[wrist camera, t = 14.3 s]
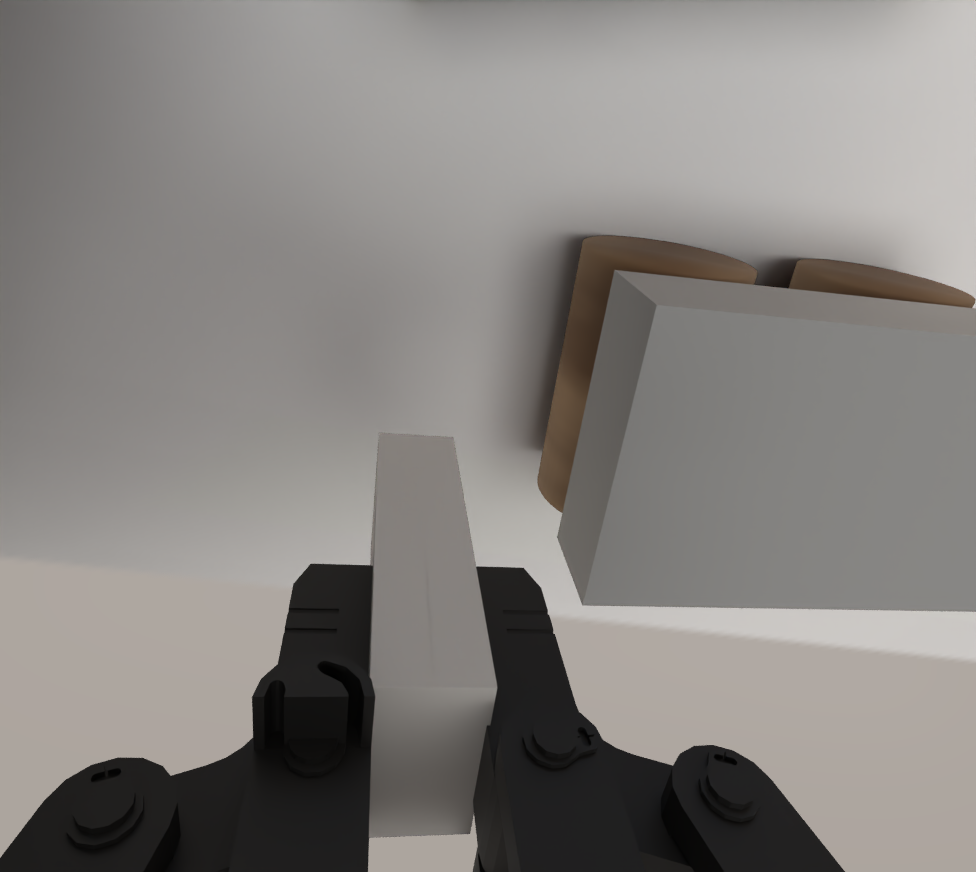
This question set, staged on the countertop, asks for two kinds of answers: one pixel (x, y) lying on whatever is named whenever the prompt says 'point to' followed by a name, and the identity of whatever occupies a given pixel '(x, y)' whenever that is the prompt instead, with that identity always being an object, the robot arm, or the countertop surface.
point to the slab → (775, 451)
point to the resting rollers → (690, 263)
